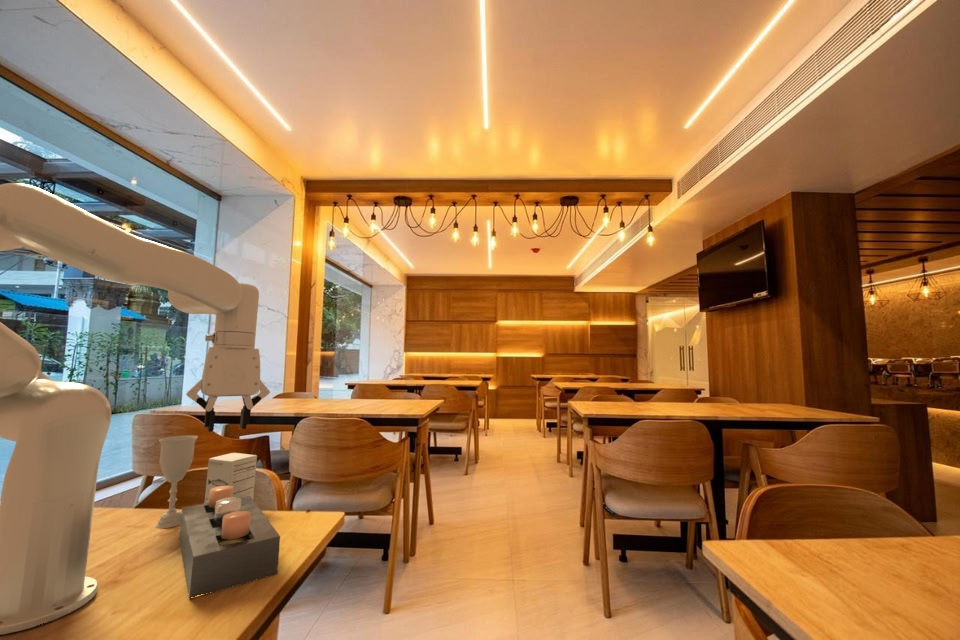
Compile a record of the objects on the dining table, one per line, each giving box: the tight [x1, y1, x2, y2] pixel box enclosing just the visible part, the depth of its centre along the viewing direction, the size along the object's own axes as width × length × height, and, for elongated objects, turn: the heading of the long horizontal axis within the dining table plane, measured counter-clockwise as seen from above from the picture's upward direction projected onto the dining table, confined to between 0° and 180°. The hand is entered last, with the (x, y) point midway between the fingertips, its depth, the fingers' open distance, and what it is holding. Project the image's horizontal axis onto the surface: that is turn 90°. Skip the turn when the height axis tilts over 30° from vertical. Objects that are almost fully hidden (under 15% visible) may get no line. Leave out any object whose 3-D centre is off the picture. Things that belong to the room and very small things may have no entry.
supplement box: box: [203, 452, 258, 504], centre depth 95 cm, size 7×7×13 cm
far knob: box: [208, 486, 233, 508], centre depth 81 cm, size 4×4×3 cm
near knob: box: [221, 511, 251, 540], centre depth 67 cm, size 4×4×3 cm
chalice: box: [155, 434, 199, 529], centre depth 88 cm, size 7×7×18 cm
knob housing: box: [178, 496, 281, 599], centre depth 73 cm, size 12×26×6 cm, turn 40°
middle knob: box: [214, 497, 241, 522], centre depth 74 cm, size 4×4×3 cm
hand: (227, 428), depth 82 cm, fingers open, 5 cm apart
